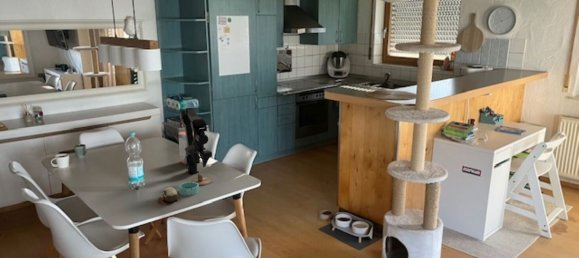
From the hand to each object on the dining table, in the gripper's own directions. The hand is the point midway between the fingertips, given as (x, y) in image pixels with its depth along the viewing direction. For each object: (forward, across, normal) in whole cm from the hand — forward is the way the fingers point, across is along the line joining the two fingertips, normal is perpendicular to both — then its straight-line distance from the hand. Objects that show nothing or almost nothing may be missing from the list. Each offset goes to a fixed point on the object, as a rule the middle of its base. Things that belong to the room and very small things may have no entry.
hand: (199, 164), depth 257 cm
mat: (+11, 0, 0) cm, 11 cm away
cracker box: (+12, -35, +12) cm, 39 cm away
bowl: (+11, +8, -12) cm, 18 cm away
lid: (+11, 0, 0) cm, 11 cm away
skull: (+12, +10, -26) cm, 30 cm away
